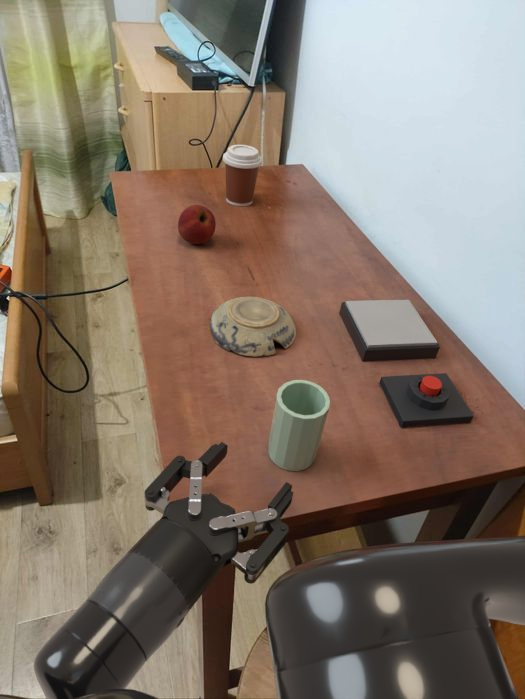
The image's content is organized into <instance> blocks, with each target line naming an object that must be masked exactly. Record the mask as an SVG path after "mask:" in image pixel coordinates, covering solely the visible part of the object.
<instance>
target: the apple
mask: <svg viewBox="0 0 525 699" xmlns="http://www.w3.org/2000/svg"><path fill="white" fill-rule="evenodd" d="M216 224H217V222H216V217H215V215H214V214H213V212H212V211H211V210H210V209H209V208H208V207H206V206H204V205H202V204H193V205H189V206H187V207H185V209H183V211H182V212H181V213H180V215H179V217H178V221H177V230H178V233H179V235H180V236H181V238H182V239H183V240H184V241H185V242H188V243H190V244H193V245H202V244H206V243H208V241H209V240H211V239H212V237H213V236H214V234H215V231H216Z"/></svg>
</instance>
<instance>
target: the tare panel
mask: <svg viewBox="0 0 525 699" xmlns="http://www.w3.org/2000/svg"><path fill="white" fill-rule="evenodd" d="M425 376H433V377H436V378H438V379H439V380H440V381H441V383H442V387H441V389H440V391H439V393H438V395H436V396H428V395H425V394H424V393H423V392H421V390H420V384H421V382H422V380H423V378H424V377H425ZM378 384H379V386H380V388H381V390H382V392H383V395H384V396H385V398H386V400H387V402H388V404H389V406H390V408H391V410H392V412H393V414H394V417H395V418H396V420H397V423H398V425H399V426H400V428H413V427H414V428H415V427H426V426H427V427H428V426H441V425H453V424H455V425H456V424H468V423H471V422H472V420H473V419H474V417H475V416H474V413H473V412H472V411H471V409H470V408H469V406H468V404H467V403H466V401H465V400H464V398H463V396H462V395H461V393H460V391H459V390H458V389H457V387H456V385H455V384H454V383H453V381H452V380H451V378H450V376H449V375H448V373H447V372H445V373H444V372H443V373H423V374H407V375H405V374H403V375H388V376H387V375H385V376H384V375H383V376H381V377H380V379H379V382H378Z"/></svg>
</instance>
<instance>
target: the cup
mask: <svg viewBox="0 0 525 699" xmlns="http://www.w3.org/2000/svg"><path fill="white" fill-rule="evenodd" d="M330 405H331V398H330V397H329V394H328V393H327V391H326V390H325V389H324V388H323V387H322V386H320V385H319V384H317V383H315V382H313V381H310V380H305V379H292V380H289V381H287V382H285V383H283V384H282V385H281V386H279V388H278V389H277V393H276V397H275V402H274V409H273V414H272V420H271V425H270V431H269V437H268V443H267V453H268V456H269V459H270V460H271V461H272V462H273V464H275V465H276V466H277V467H279V468H280V469H282V470H286V471H288V472H289V471H290V472H300V471H304V470H306V469H308V468H309V467H310V466H311V465H312V464H313V463H314V462H315V460H316V458H317V453H318V450H319V446H320V443H321V439H322V435H323V432H324V428H325V426H326V421H327V418H328V414H329V410H330Z"/></svg>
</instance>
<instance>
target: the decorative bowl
mask: <svg viewBox="0 0 525 699" xmlns="http://www.w3.org/2000/svg"><path fill="white" fill-rule="evenodd" d="M209 324H210V325H209V326H210V330H211V333H212V335H213V339H214V342H215V344H216V345H218V346H219V347H221V348H222V349H224V350H227V351H228V352H230V351H232V352H233V353H235V354H237V355H240V356H245V357H254V358H257V357H263V356H265V357H267V356H269V357H270V356H273V355H275V354H276V348H275V342H276V343H278V344H280V345H281V346H282V348H284V349H285V350H287V349H288V348H290V347H291V345H292V344H293V343H294V342H295V340H296V338H297V328H296V324H295V322H294V320H293V318H292V316H291V315H290V314H289V313H288V311H287V310H286V309H285V308H283V306H281V305H280V304H279V303H276V302H275V301H272V300H270V299H267V298H264V297H260V296H253V295H251V296H240V297H239V296H238V297H233V298H231V299H228V300H226V301H224V302H223V303H221V304H220V305H219V306H217V308H216V309H214V310H213V312H212V313H211V317H210V322H209ZM274 341H275V342H274Z"/></svg>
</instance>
